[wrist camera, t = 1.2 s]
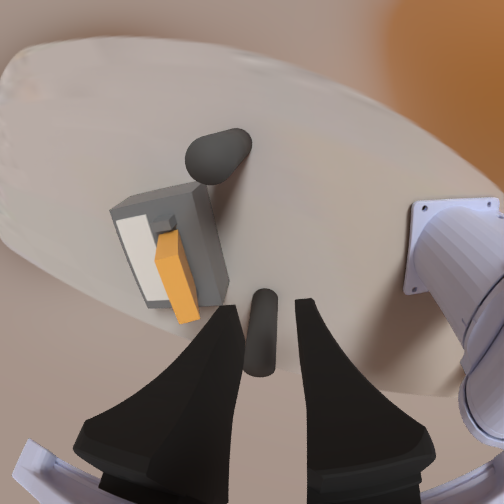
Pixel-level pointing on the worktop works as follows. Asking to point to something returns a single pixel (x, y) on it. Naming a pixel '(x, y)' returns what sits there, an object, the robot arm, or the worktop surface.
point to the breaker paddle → (177, 276)
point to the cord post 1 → (217, 155)
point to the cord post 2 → (262, 334)
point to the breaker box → (191, 233)
